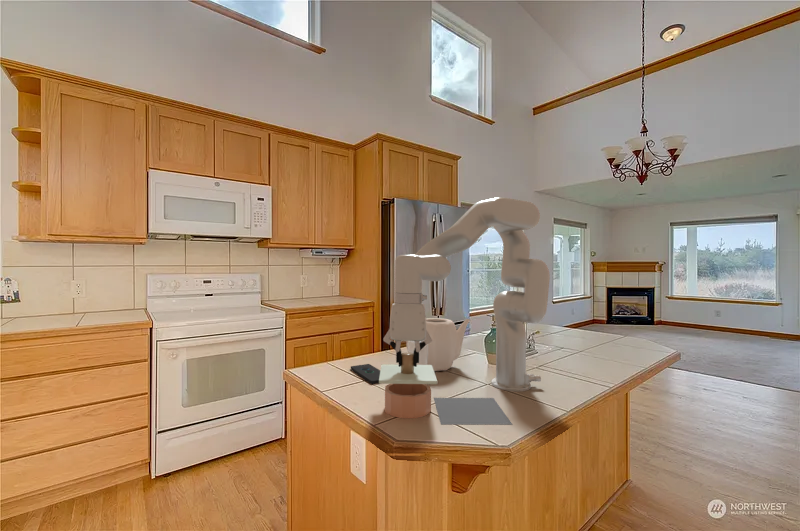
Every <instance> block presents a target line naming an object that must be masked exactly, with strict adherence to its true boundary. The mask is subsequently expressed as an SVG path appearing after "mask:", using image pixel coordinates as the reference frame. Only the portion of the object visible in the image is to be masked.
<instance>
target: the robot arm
mask: <svg viewBox="0 0 800 531" xmlns="http://www.w3.org/2000/svg"><path fill="white" fill-rule="evenodd" d="M540 216H541V215H540V210H539V208H538V206H536V204H534V202H531V201H527V200H521V199H514V198H510V197H502V196H501V197H494V198H493V197H492V198H489V199H485V200H480V201H478V202H475V203H474V204H473V205H472V206H470V208H469V209H467V211H466V212H464V214H463V215H462V216H461V217H460V218H459V219H457V221H456V222H455V223H454V224H452V225H451V227H449V228H448V229H446V230H444V231H443V232H442V233H441V232H440V234H439V235H437V236H435V237H433V238H432V239H431V240H429V241H428V242H426V243H425V244H424V245H422V246H421V247H420V249H419V250H418V251H417V252H416V253H414V254H399V255H397V256H396V257H395V261H394V262H395V263H394V303H392V304H391V308H390V316H389V328H388V331H387V332H386V334H385V335H384V337H383V339H382V340H383V342H384V343H385V344H388V345H389V346H390V347H391V348H392V349H393V350H394V351H395V353H396V354H395V355H396V356H395V361H396V362H395V363H397V364H398V365H399V367H401V353H402V348H401V344H402V342H406V341H415V348H414V366H415V367H417V363H419V352H420V350H421V349H422V348H423V347H424V346H425V345H427V344H429V343H430V342H432V338H431V337H430V335H429V333H428V331H427V330H426V318H427V315H426V308H425V304H424V303H423V301H427V300H428V295H426V294H423V281H427V282H441V281H444V280H445V279H447V278H448V277H449V275H450V274H451V271H452V267H451V262H450V261H449V260H448V257H450V256H453V255H455V254H459V253H462V252H463V251H466V250H468V249H470V248H471V247H472V246H473V245H475V243H476V242H477V241H478V239H480V238H481V237H482V236H483V234H484V233H486V231H488V230H489V228H492V227H493V228H494V230H495V231H496V232H497V233H498V235H499V237H500V238H501V240H502V244H503V249H502V250H503V251H502V262H501V270H500V272H501V273H500V278H501V282H502V283H503V284H504V285H505V286H507V287H511V288H518V289H519V288H520V289H524V291H514V290H505V291H504V290H503V291H501V292H499V293H498V294H497V295H495V297H494V300H493V303H492V304H493V308H492V309H493V313H494V318H495V329H496V330H495V332H496V333H495V337H496V338H495V339H496V340H495V377H494V378H492V379H491V380H490V381H491V382H490V383H491V386H493V387H494V388H496V389H499V390H503V391H506V392H507V391H508V392H526V391H529V390H530V389H531V388H532V387H531V386H532V385H531V384H532V382H541V381H542V378H541V377H542V376H541V375H538V374H537V375H535V374H534V373H528V372H527V366H526V364H527V361H526V360H527V354H526V353H527V333H526V332H527V331H526V328H525V326H524V323H527V324H539V323H540V322H542V321H543V320H544V318H545V316H546V313H547V308H548V299H549V292H550V279H551V277H550V275H551V274H550V271H549V267H548V265H547V263H546V262H544V260H542V259H538V258H530V255H531V254H530V251H531V249H530V246H531V244H530V241H529V238H528V237H527V235H526V233H524V231H525V230H526V231H527V230H531V229H534V228H535V227H536V226H537V225H538V224H539V222H540V218H541V217H540ZM422 340H424V341H422ZM419 341H422V342H421V343H420V344H419Z"/></svg>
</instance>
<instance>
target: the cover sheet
mask: <svg viewBox="0 0 800 531" xmlns="http://www.w3.org/2000/svg"><path fill="white" fill-rule="evenodd" d="M379 384H386V385H388V384H427V385H438V380H437V376H436V373H435V371H434V370H433V367H432V365H417V367H415V366H414V354H413V353H408V352H401V367H399V364H381V366H380V377H379V383H378V385H379Z"/></svg>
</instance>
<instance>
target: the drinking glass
mask: <svg viewBox="0 0 800 531" xmlns="http://www.w3.org/2000/svg"><path fill="white" fill-rule="evenodd" d="M422 341H424V340H422ZM422 341H419V344H420V343H421V342H422ZM414 348H415V341H408V350H407V353H413V354H414ZM427 363H428V344H427V345H425V346H424V347H423V348H422V349H421V350H420V352H419V363H417V365H427Z"/></svg>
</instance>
